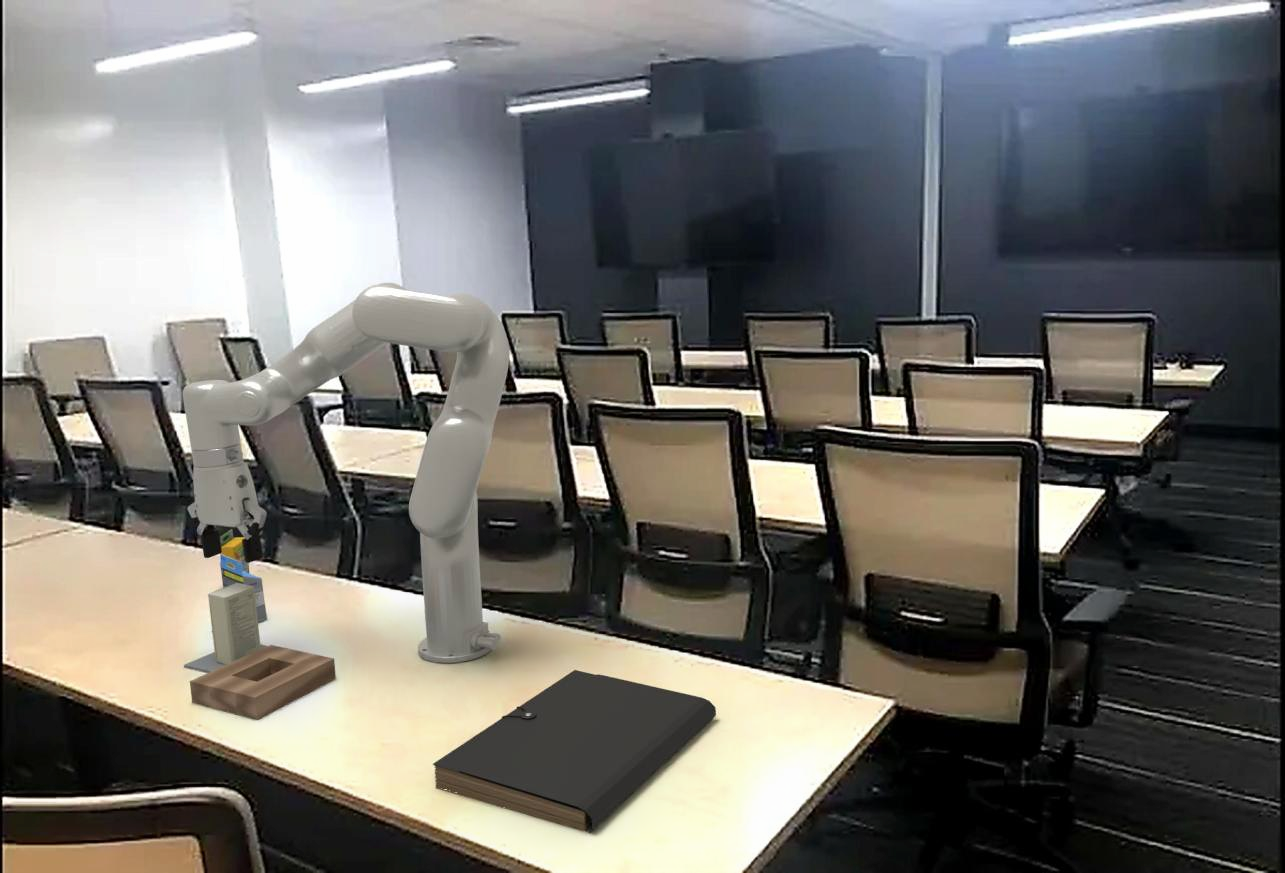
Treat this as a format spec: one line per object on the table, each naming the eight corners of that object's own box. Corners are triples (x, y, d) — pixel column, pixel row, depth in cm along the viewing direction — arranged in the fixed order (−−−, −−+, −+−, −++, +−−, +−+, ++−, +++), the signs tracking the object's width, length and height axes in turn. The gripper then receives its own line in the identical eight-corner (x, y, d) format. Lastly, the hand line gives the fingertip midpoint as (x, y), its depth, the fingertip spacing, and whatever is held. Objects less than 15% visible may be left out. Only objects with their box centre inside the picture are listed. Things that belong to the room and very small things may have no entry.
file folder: (573, 667, 163) (716, 698, 151) (574, 692, 164) (716, 725, 152) (431, 760, 135) (592, 808, 123) (432, 790, 135) (593, 841, 124)
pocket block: (335, 679, 170) (334, 658, 169) (257, 719, 156) (254, 697, 155) (272, 664, 176) (270, 644, 176) (192, 702, 163) (189, 681, 162)
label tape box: (268, 620, 197) (261, 557, 195) (247, 627, 194) (241, 562, 192) (244, 610, 203) (238, 548, 201) (224, 616, 200) (217, 553, 198)
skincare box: (245, 649, 182) (237, 581, 180) (262, 654, 180) (255, 585, 178) (213, 662, 177) (206, 593, 175) (231, 667, 175) (224, 596, 172)
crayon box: (237, 593, 213) (232, 538, 211) (223, 594, 213) (217, 538, 211) (251, 582, 220) (245, 528, 218) (237, 582, 220) (231, 528, 218)
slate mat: (291, 653, 181) (291, 650, 181) (234, 679, 171) (234, 677, 171) (241, 642, 187) (241, 640, 187) (184, 667, 176) (183, 664, 176)
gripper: (273, 453, 171) (288, 555, 175) (200, 450, 180) (215, 547, 183) (236, 464, 165) (252, 569, 168) (162, 460, 173) (179, 560, 176)
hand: (233, 557), depth 175 cm, fingers open, 9 cm apart
